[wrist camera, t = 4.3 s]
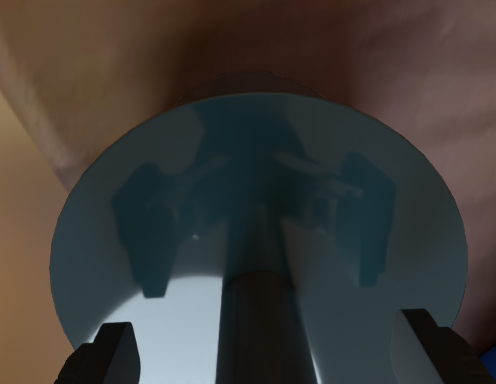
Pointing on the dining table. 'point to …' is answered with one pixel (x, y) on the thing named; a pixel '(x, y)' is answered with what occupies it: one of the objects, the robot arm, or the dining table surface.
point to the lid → (258, 242)
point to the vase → (490, 361)
